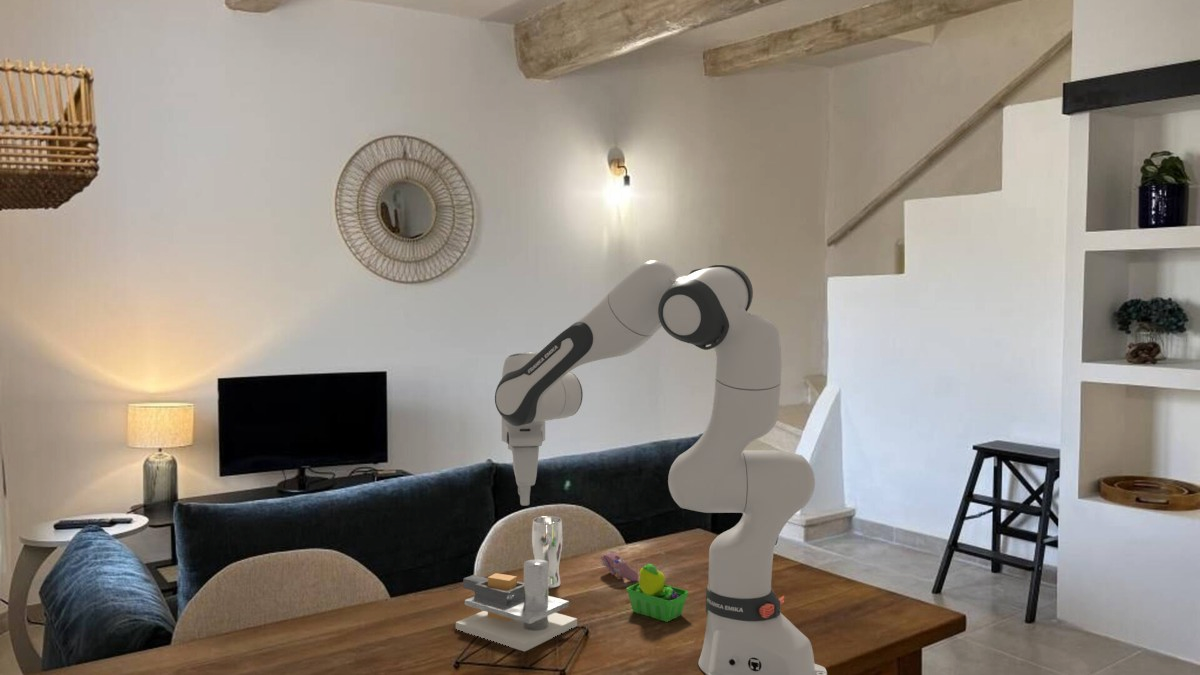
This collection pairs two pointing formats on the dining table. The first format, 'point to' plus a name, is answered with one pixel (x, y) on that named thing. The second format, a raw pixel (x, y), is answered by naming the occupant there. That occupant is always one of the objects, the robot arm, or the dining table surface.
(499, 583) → the wedge
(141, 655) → the dining table surface
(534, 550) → the beer glass
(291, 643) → the dining table surface
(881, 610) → the dining table surface
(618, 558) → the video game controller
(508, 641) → the board
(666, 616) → the fruit basket
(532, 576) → the grey metal fixture
